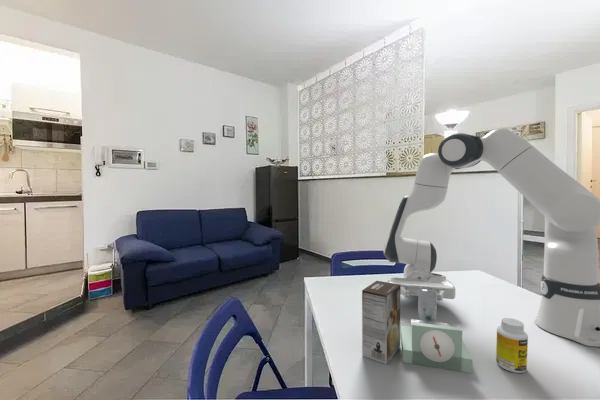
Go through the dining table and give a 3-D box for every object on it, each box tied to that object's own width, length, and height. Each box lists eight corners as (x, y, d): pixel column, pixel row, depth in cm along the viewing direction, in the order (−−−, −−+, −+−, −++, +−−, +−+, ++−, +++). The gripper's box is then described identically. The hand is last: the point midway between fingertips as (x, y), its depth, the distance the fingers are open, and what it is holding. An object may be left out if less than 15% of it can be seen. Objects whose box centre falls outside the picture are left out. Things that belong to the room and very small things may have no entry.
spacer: (434, 330, 82) (435, 287, 81) (437, 338, 77) (438, 293, 77) (417, 327, 83) (417, 286, 82) (418, 335, 79) (419, 291, 78)
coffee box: (376, 339, 77) (376, 279, 76) (400, 347, 73) (401, 284, 72) (361, 356, 69) (361, 289, 69) (387, 366, 65) (388, 295, 65)
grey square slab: (448, 331, 75) (448, 323, 75) (456, 349, 66) (456, 341, 66) (410, 326, 77) (410, 319, 77) (413, 344, 69) (413, 335, 69)
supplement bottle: (520, 377, 61) (522, 330, 61) (491, 364, 66) (492, 320, 65) (531, 368, 64) (532, 323, 64) (502, 356, 69) (503, 313, 68)
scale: (458, 344, 74) (459, 309, 74) (472, 374, 62) (473, 333, 62) (400, 336, 78) (400, 303, 78) (403, 363, 66) (403, 325, 66)
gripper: (387, 271, 106) (387, 283, 92) (450, 275, 100) (459, 289, 86) (387, 288, 106) (387, 303, 93) (449, 293, 100) (459, 310, 87)
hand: (423, 296), depth 89 cm, fingers open, 8 cm apart
